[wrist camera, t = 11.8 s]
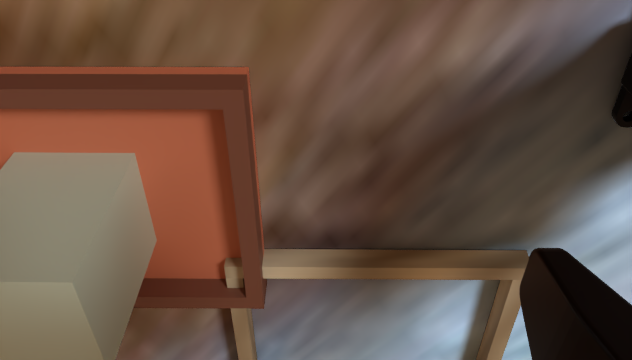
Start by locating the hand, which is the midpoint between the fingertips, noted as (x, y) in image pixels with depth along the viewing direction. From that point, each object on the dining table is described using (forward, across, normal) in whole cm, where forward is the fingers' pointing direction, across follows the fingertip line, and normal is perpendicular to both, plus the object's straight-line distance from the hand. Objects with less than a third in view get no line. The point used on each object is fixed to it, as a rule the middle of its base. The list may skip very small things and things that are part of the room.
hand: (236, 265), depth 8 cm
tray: (+13, +9, +9) cm, 18 cm away
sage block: (+12, +9, +9) cm, 18 cm away
